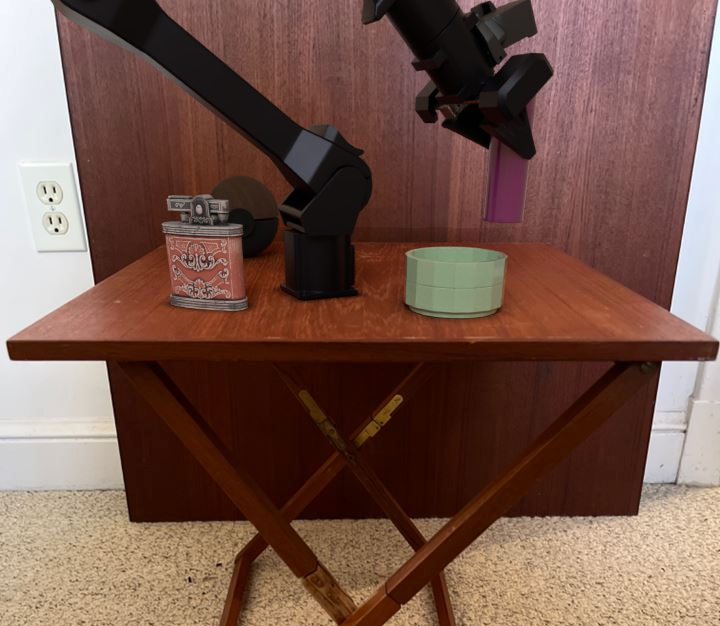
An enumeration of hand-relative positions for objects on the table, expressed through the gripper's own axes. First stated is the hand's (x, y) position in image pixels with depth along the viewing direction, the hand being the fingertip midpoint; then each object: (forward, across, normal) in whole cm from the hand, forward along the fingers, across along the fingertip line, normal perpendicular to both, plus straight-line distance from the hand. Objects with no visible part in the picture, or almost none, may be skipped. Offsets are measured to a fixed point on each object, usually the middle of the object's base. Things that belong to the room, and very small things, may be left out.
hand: (520, 155), depth 76 cm
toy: (-8, +25, +27) cm, 38 cm away
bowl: (0, -11, +18) cm, 22 cm away
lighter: (-15, -2, +34) cm, 37 cm away
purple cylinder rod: (+4, 0, +6) cm, 7 cm away
